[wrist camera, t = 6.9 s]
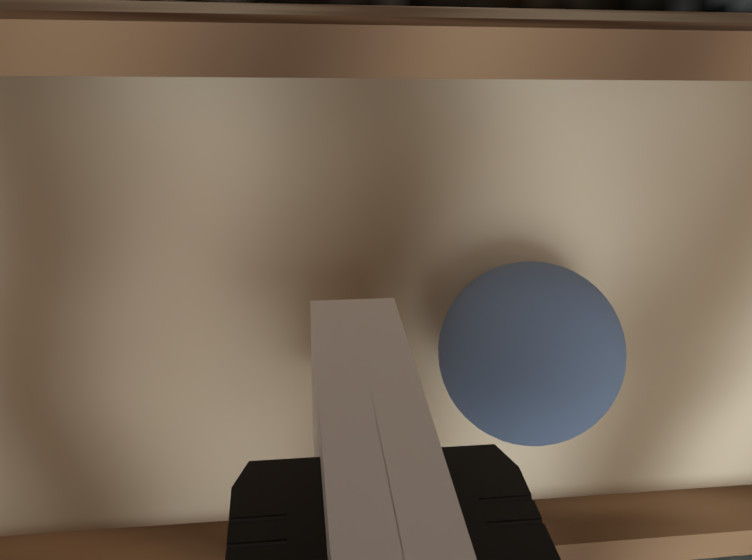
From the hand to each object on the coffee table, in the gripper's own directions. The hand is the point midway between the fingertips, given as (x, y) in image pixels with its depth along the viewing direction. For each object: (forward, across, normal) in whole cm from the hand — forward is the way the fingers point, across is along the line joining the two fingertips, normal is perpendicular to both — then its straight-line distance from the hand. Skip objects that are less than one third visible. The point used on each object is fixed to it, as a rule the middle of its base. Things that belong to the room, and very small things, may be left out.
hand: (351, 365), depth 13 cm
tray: (+4, +5, 0) cm, 6 cm away
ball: (0, +3, 0) cm, 3 cm away
